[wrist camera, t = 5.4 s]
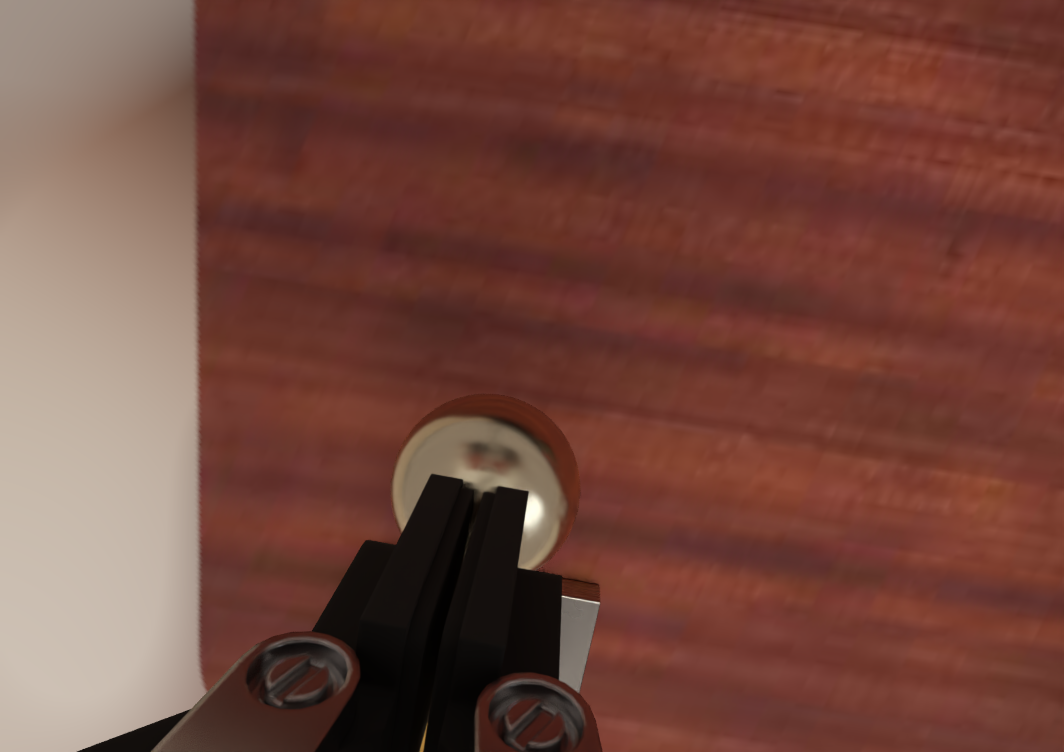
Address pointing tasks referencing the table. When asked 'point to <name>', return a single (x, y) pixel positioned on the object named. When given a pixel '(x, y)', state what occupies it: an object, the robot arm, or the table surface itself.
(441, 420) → the lever
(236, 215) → the table surface
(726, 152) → the table surface
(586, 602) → the bracket
